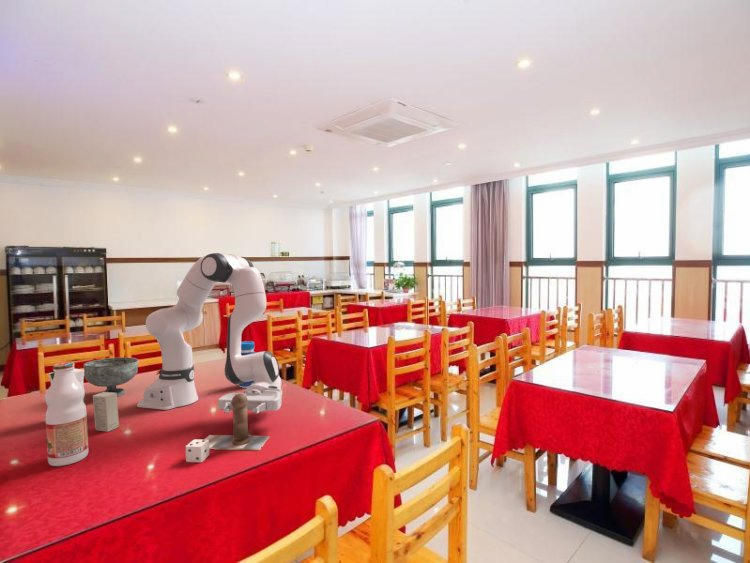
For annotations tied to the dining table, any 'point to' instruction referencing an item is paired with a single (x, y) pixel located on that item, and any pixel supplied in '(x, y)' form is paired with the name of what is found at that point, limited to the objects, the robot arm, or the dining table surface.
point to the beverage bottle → (247, 349)
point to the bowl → (111, 372)
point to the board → (226, 444)
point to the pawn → (240, 420)
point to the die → (197, 450)
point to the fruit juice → (66, 417)
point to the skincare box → (106, 411)
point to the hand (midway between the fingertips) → (240, 410)
